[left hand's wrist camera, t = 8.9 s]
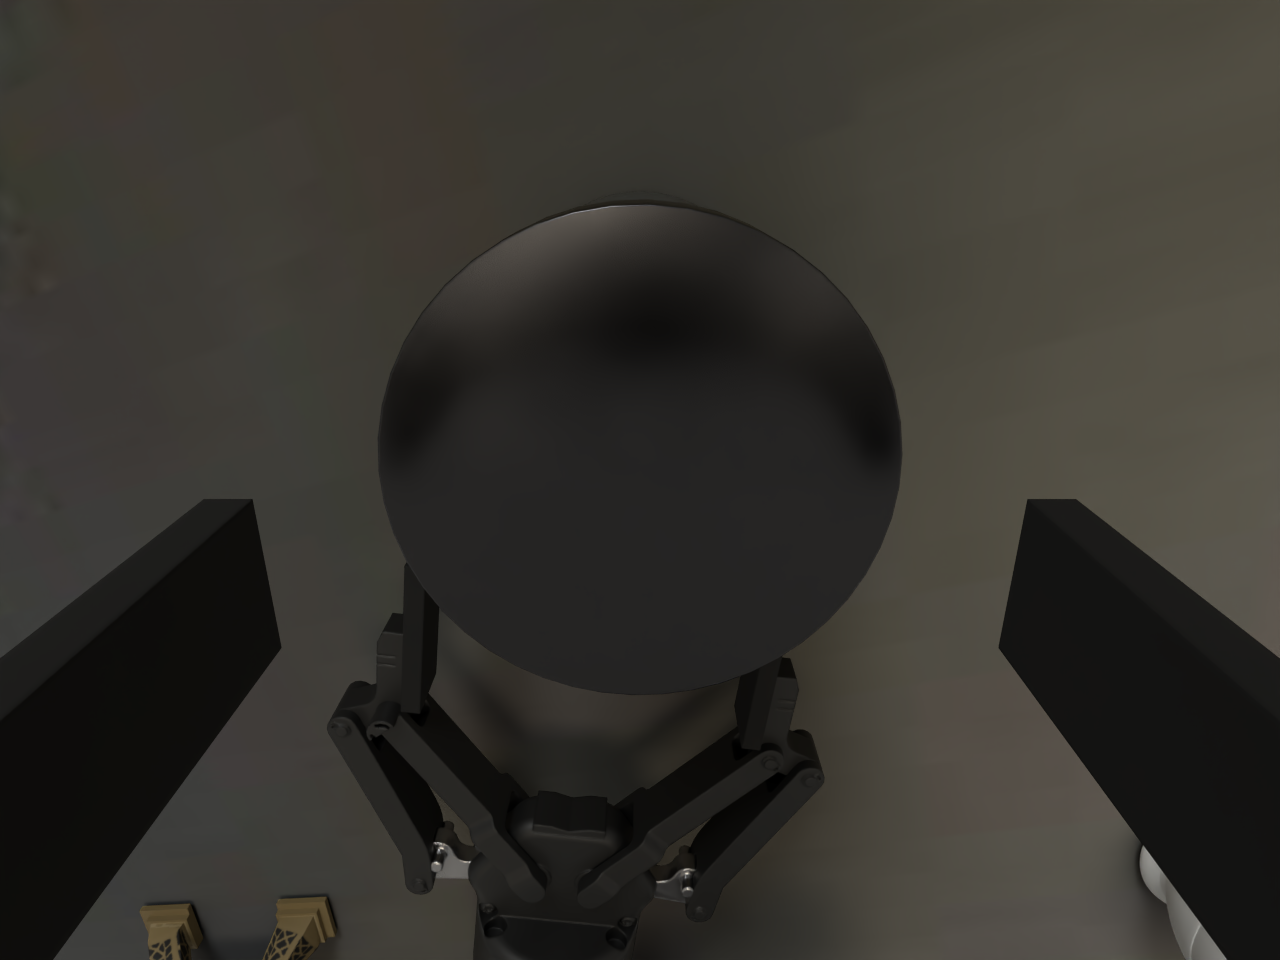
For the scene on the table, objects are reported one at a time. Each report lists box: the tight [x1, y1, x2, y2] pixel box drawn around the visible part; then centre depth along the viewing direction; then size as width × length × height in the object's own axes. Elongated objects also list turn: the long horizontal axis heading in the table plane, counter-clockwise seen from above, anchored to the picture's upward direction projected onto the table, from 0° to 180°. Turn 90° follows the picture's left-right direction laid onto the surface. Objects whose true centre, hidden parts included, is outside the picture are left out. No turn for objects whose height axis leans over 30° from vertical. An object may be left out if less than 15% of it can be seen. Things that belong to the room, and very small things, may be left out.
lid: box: [378, 199, 902, 695], centre depth 18 cm, size 11×11×2 cm
